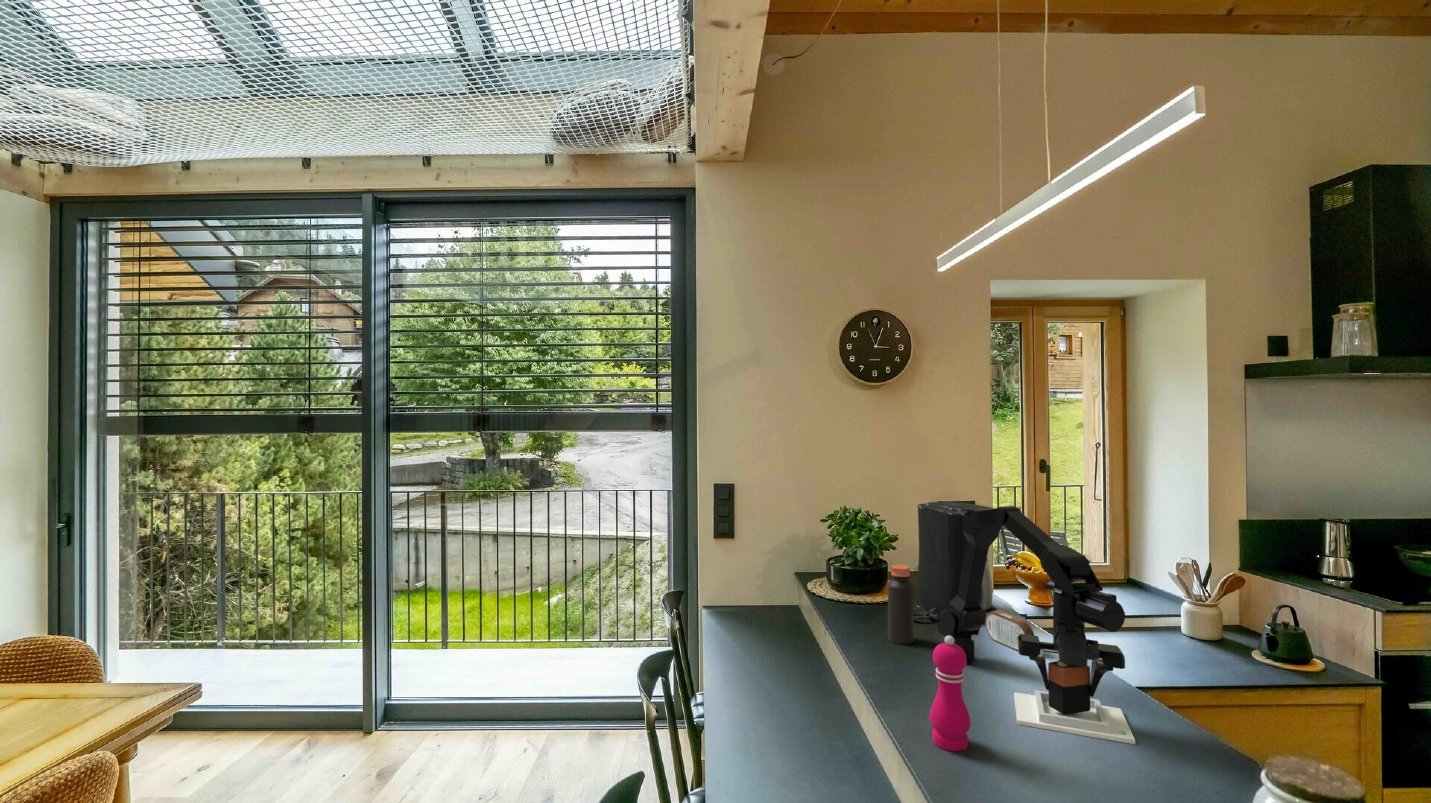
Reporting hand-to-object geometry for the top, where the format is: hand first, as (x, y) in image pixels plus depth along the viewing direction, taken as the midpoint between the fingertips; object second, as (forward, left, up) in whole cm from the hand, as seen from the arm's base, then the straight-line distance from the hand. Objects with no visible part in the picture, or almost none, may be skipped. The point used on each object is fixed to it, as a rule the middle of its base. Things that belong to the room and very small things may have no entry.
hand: (1069, 692), depth 131 cm
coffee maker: (-28, +66, -5) cm, 72 cm away
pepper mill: (-22, -20, -5) cm, 30 cm away
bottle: (-37, +33, -5) cm, 50 cm away
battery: (0, 0, -4) cm, 4 cm away
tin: (-10, +40, -5) cm, 41 cm away
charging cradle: (0, 0, -5) cm, 5 cm away
